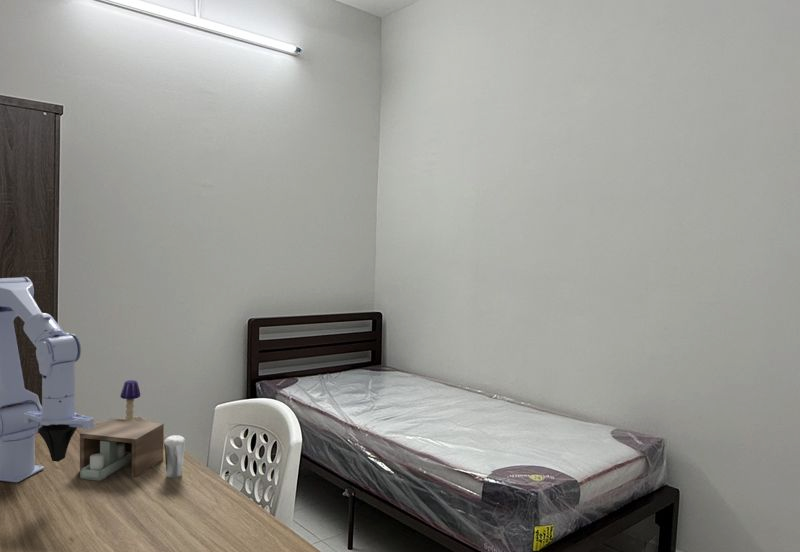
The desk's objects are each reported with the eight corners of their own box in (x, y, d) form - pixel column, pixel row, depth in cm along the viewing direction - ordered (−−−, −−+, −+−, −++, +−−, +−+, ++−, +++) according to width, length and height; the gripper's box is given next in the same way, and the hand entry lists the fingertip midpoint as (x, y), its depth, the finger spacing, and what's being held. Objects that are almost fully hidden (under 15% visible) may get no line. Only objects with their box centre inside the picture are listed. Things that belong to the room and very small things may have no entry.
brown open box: (79, 470, 133) (79, 433, 132) (111, 453, 143) (111, 418, 143) (135, 477, 130) (136, 439, 130) (163, 458, 141) (163, 423, 141)
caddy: (80, 478, 129) (80, 447, 128) (115, 458, 141) (115, 429, 140) (100, 480, 128) (100, 450, 127) (133, 460, 140) (134, 431, 139)
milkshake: (180, 481, 129) (181, 437, 129) (159, 478, 130) (159, 435, 130) (192, 473, 134) (192, 431, 133) (171, 470, 135) (171, 428, 134)
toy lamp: (133, 440, 152) (134, 378, 151) (143, 444, 150) (144, 381, 148) (115, 445, 149) (116, 381, 147) (125, 449, 146) (126, 384, 145)
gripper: (10, 396, 115) (11, 463, 116) (76, 403, 113) (76, 471, 114) (38, 387, 122) (38, 450, 123) (100, 393, 120) (100, 457, 121)
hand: (58, 459), depth 119 cm, fingers closed
